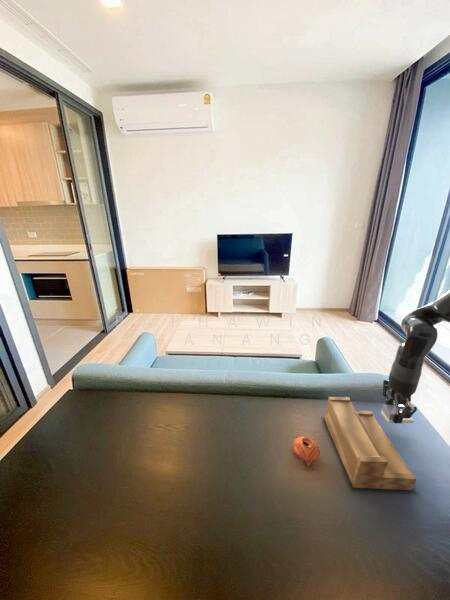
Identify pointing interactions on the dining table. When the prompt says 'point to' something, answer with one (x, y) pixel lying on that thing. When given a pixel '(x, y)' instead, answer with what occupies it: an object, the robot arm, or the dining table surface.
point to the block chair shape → (392, 414)
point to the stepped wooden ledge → (365, 448)
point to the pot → (306, 449)
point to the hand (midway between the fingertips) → (392, 416)
